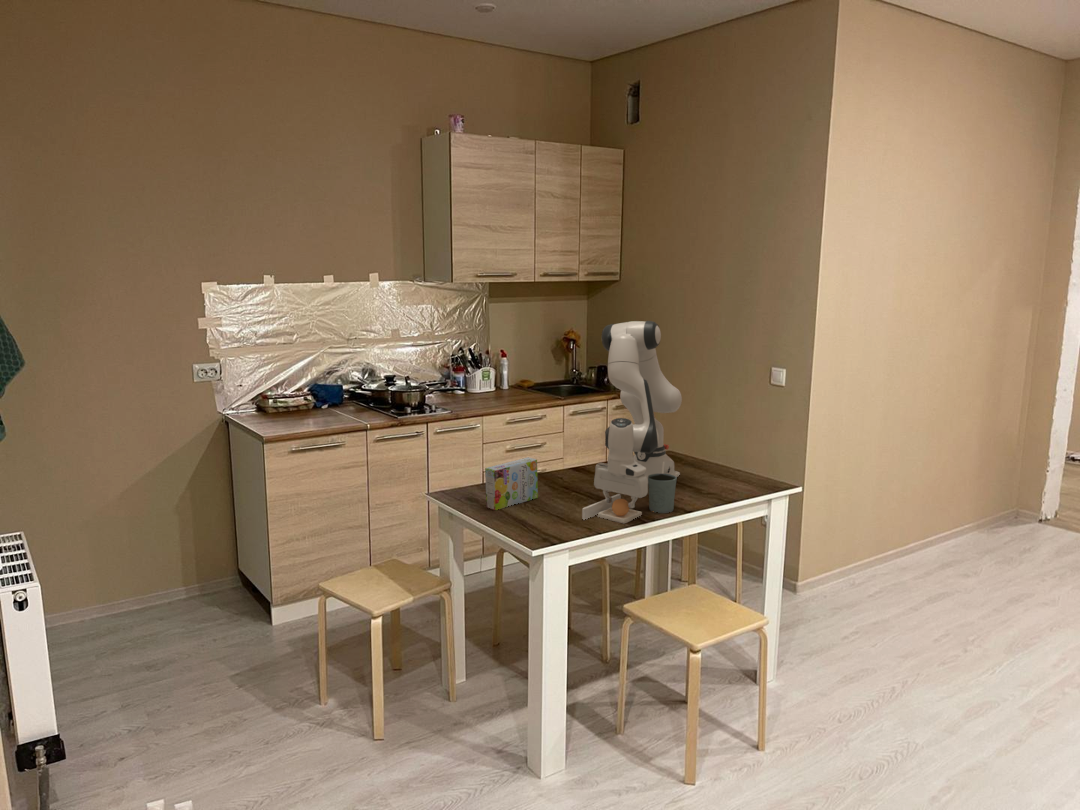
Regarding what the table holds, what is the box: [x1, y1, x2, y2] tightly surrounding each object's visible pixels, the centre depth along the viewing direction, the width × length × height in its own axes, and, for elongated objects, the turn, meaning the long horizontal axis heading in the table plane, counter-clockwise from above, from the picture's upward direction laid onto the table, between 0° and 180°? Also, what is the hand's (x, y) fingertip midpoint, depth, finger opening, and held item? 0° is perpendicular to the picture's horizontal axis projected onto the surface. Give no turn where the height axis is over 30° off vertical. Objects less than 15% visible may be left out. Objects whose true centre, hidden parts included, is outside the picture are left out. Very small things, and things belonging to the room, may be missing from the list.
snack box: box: [484, 457, 539, 511], centre depth 294 cm, size 21×6×15 cm, turn 134°
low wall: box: [581, 493, 622, 521], centre depth 284 cm, size 22×1×4 cm, turn 141°
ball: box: [612, 497, 630, 516], centre depth 279 cm, size 6×6×6 cm
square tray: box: [597, 507, 643, 525], centre depth 280 cm, size 11×11×1 cm
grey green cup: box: [648, 474, 678, 514], centre depth 286 cm, size 10×10×12 cm
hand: (619, 505), depth 279 cm, fingers open, 8 cm apart
